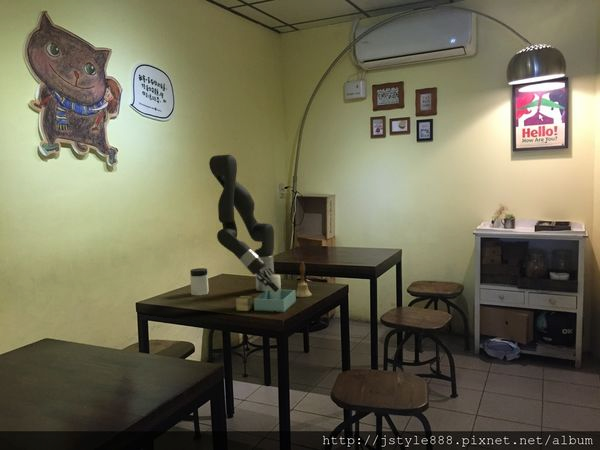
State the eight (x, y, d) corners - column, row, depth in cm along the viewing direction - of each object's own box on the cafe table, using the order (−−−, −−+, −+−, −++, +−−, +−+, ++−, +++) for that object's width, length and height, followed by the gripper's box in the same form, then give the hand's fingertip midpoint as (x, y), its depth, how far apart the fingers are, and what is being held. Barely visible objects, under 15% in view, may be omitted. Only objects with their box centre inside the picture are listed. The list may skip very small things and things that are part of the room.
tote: (268, 300, 217) (267, 289, 216) (295, 301, 213) (295, 290, 212) (254, 310, 200) (253, 299, 200) (284, 311, 196) (283, 300, 196)
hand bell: (303, 292, 229) (301, 259, 228) (315, 294, 223) (314, 261, 222) (290, 295, 223) (289, 262, 222) (303, 298, 217) (301, 264, 216)
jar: (207, 295, 230) (205, 271, 229) (190, 296, 230) (188, 271, 229) (209, 291, 239) (208, 267, 238) (193, 291, 239) (192, 268, 238)
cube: (241, 307, 207) (240, 296, 206) (252, 307, 205) (251, 296, 205) (236, 310, 202) (236, 299, 201) (247, 311, 200) (246, 299, 200)
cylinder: (272, 296, 213) (271, 274, 212) (282, 296, 211) (281, 274, 211) (268, 299, 208) (267, 276, 207) (279, 299, 207) (278, 277, 206)
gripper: (252, 258, 203) (279, 287, 201) (263, 253, 217) (289, 279, 215) (241, 270, 205) (268, 298, 203) (253, 264, 219) (278, 290, 217)
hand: (279, 288), depth 209 cm, fingers closed on cylinder, 5 cm apart
